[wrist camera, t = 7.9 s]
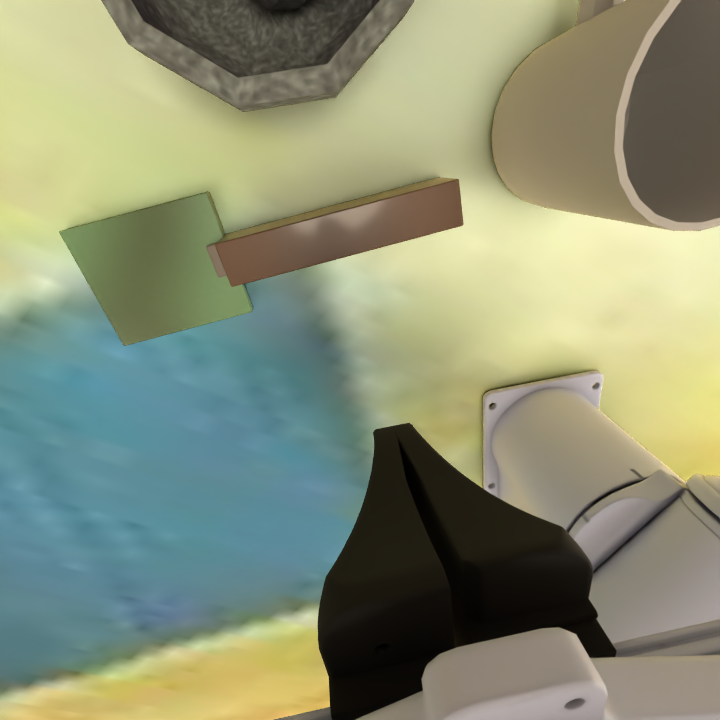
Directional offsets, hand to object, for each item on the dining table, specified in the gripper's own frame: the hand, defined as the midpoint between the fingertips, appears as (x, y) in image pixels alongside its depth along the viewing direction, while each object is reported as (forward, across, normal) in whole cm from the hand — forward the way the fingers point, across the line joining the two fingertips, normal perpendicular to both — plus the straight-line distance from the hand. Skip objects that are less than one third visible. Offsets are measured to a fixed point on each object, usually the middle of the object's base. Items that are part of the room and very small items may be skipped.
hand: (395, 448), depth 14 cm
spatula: (+10, +4, -6) cm, 12 cm away
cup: (+10, -11, -11) cm, 18 cm away
